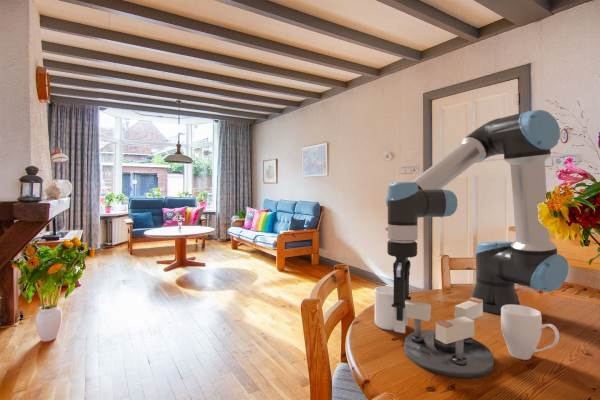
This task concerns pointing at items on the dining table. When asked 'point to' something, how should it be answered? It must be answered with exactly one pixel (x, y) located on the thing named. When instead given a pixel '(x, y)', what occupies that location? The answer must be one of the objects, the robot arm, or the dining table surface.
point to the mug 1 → (384, 307)
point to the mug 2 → (523, 330)
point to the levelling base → (449, 356)
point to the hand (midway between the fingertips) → (401, 327)
